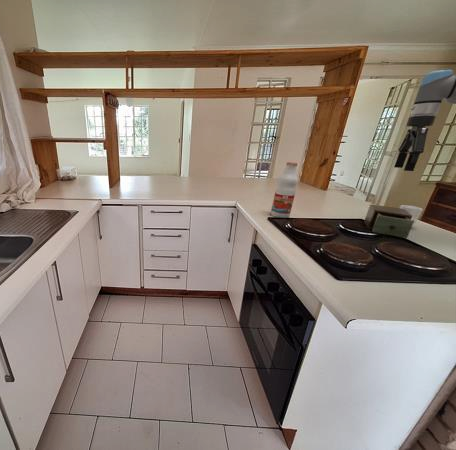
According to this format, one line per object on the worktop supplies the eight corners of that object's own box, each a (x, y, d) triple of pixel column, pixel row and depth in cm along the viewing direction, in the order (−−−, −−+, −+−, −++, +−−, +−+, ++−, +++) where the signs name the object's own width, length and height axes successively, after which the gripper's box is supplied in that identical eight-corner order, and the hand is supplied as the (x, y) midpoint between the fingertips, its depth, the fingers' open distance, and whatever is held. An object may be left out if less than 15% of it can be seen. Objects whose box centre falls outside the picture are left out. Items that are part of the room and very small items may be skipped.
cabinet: (403, 235, 106) (412, 215, 103) (367, 229, 113) (374, 210, 109) (396, 227, 117) (403, 208, 114) (363, 221, 124) (370, 204, 121)
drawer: (407, 239, 99) (415, 221, 97) (372, 232, 105) (378, 216, 103) (399, 229, 111) (405, 214, 108) (368, 224, 117) (373, 209, 114)
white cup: (400, 227, 117) (409, 208, 114) (388, 222, 124) (396, 204, 121) (418, 229, 116) (427, 210, 112) (405, 224, 123) (413, 205, 120)
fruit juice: (289, 214, 130) (302, 162, 120) (289, 219, 122) (303, 164, 112) (270, 212, 134) (281, 161, 124) (269, 216, 126) (281, 162, 116)
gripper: (400, 118, 107) (384, 165, 114) (421, 113, 87) (400, 171, 94) (423, 117, 103) (405, 166, 111) (451, 112, 83) (426, 173, 91)
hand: (403, 169), depth 103 cm, fingers open, 13 cm apart
